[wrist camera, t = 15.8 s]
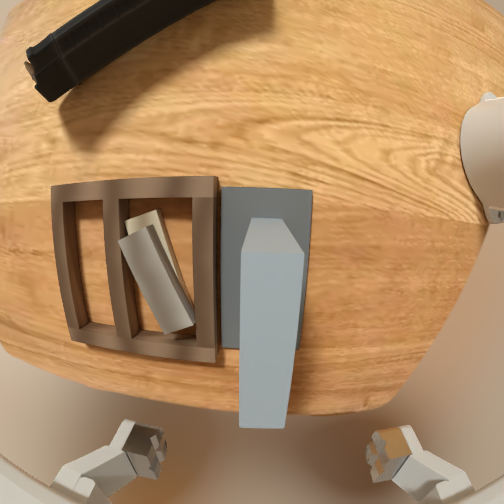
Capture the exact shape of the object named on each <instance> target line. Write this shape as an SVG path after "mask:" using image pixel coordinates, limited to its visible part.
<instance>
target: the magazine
mask: <svg viewBox="0 0 504 504" xmlns="http://www.w3.org/2000/svg"><path fill="white" fill-rule="evenodd" d="M212 1H214V0H100V1H98V2H97V3H95V4H94V5H92V6H91V7H89V8H88V9H86V10H85V11H83V12H82V13H80V14H79V15H77V16H76V17H74V18H73V19H71V20H70V21H69V22H67V23H66V24H64V25H63V26H61V27H60V28H59V29H57V30H56V31H55V32H53V33H52V34H51V33H50V34H49V35H48V36H47V37H46V38H45V39H44V40H42V41H41V42H40V43H39V44H37V45H36V46H34V47H29V48H28V49H27V50H26V53H27V58H28V60H29V61H30V63H31V64H30V63H28V62H26V61H25V62H24V64H25V67H26V69H27V70H28V72H29V74H30V75H31V77H32V79H33V80H34V81H35V82H36V83H37V84H36V85H35V88H36V90H37V91H38V92H39V93H40V94H41V95H42V96H43V97H44V98H45V99H46V100H47V101H49V102H53V101H55V100H56V99H58V98H59V97H61V96H62V95H63V94H65V93H66V92H67V91H69V90H70V89H72V88H73V87H75V86H76V85H77V84H79V85H80V84H81V81H83V80H84V79H86V78H87V77H88V76H90V75H91V74H93V73H94V72H96V71H97V70H98V69H100V68H101V67H103V66H104V65H106V64H107V63H109V62H110V61H112V60H114V59H115V58H117V57H118V56H120V55H122V54H123V53H125V52H126V51H128V50H130V49H131V48H133V47H134V46H136V45H138V44H139V43H141V42H142V41H144V40H146V39H147V38H149V37H151V36H152V35H154V34H156V33H157V32H159V31H161V30H162V29H164V28H166V27H167V26H169V25H171V24H172V23H174V22H176V21H178V20H180V19H181V18H183V17H185V16H187V15H188V14H190V13H192V12H194V11H196V10H197V9H199V8H201V7H203V6H205V5H207V4H209V3H211V2H212Z"/></svg>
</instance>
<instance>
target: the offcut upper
mask: <svg viewBox="0 0 504 504" xmlns="http://www.w3.org/2000/svg"><path fill="white" fill-rule="evenodd" d="M118 243H119V245H120V247H121V250H122V252H123V254H124V256H125V258H126V261H127V263H128V265H129V267H130V269H131V271H132V273H133V275H134V277H135V279H136V281H137V283H138V285H139V287H140V289H141V291H142V293H143V295H144V297H145V299H146V301H147V303H148V305H149V307H150V309H151V311H152V312H153V314H154V316H155V318H156V320H157V322H158V323H159V325H160V327H161V329H162V330H163V332H164V334H168V333H171V332H174V331H177V330H180V329H183V328H186V327H189V326H192V325H194V323H195V311H194V309H193V308H192V306H191V304H190V302H189V300H188V298H187V296H186V294H185V292H184V290H183V288H182V286H181V284H180V282H179V280H178V277H177V275H176V273H175V271H174V269H173V267H172V265H171V263H170V261H169V259H168V256H167V254H166V252H165V250H164V248H163V245H162V243H161V241H160V239H159V237H158V234H157V232H156V230H155V227H154V225H153V224H152V225H149V226H146V227H144V228H142V229H140V230H138V231H136V232H134V233H132V234H130V235H128V236H126V237H124V238H123V239H121V240H119V241H118Z"/></svg>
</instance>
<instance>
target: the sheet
mask: <svg viewBox="0 0 504 504" xmlns="http://www.w3.org/2000/svg"><path fill="white" fill-rule="evenodd" d="M303 267H304V252H303V251H302V249H301V248H300V246H299V244H298V243H297V241H296V240H295V238H294V237H293V235H292V234H291V232H290V230H289V229H288V227H287V226H286V224H285V223H284V221H283V220H282V219H275V218H251V222H250V225H249V228H248V231H247V234H246V237H245V241H244V244H243V247H242V250H241V282H240V362H239V427H244V428H284V425H285V420H286V414H287V407H288V401H289V394H290V387H291V380H292V372H293V364H294V356H295V348H296V340H297V331H298V321H299V312H300V302H301V291H302V279H303Z"/></svg>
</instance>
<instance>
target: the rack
mask: <svg viewBox="0 0 504 504" xmlns="http://www.w3.org/2000/svg"><path fill="white" fill-rule="evenodd" d="M217 189H218V177H215V176H180V177H151V178H132V179H117V180H104V181H93V182H82V183H73V184H64V185H56V186H51V213H52V229H53V241H54V251H55V259H56V267H57V273H58V280H59V286H60V291H61V297H62V302H63V307H64V311H65V316H66V320H67V324H68V329H69V332H70V336H71V340H73V341H77V342H81V343H86V344H90V345H95V346H99V347H104V348H109V349H114V350H120V351H125V352H131V353H137V354H143V355H150V356H157V357H164V358H172V359H180V360H189V361H199V362H210V363H216V359H217V355H218V316H217ZM169 197H192V244H193V283H194V306H195V324H196V336H195V335H184V334H174V333H168V334H164V332H156V331H148V330H140V329H139V323H138V316H137V308H136V300H135V292H134V282H133V273H132V271H131V269H130V267H129V265H128V263H127V261H126V258H125V256H124V254H123V252H122V250H121V247H120V245H119V243H118V241H119V240H121V239H123V238H124V237H126V236H128V231H127V228H126V225H125V222H124V221H126V220H129V198H169ZM85 200H103V223H104V241H105V253H106V264H107V273H108V282H109V289H110V297H111V303H112V310H113V316H114V321H115V326H112V325H106V324H100V323H95V322H89V321H88V316H87V311H86V306H85V300H84V295H83V288H82V282H81V275H80V267H79V259H78V249H77V238H76V224H75V201H85Z"/></svg>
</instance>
